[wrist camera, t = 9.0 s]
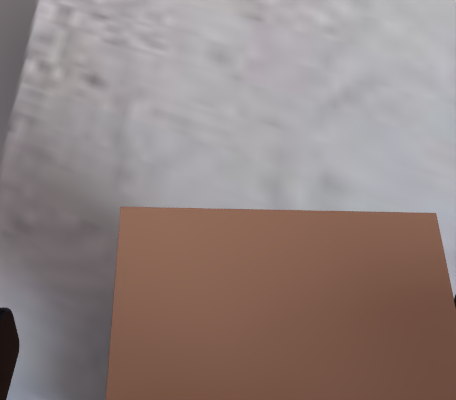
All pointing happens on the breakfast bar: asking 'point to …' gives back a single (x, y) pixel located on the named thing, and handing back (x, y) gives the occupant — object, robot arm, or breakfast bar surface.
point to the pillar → (281, 306)
